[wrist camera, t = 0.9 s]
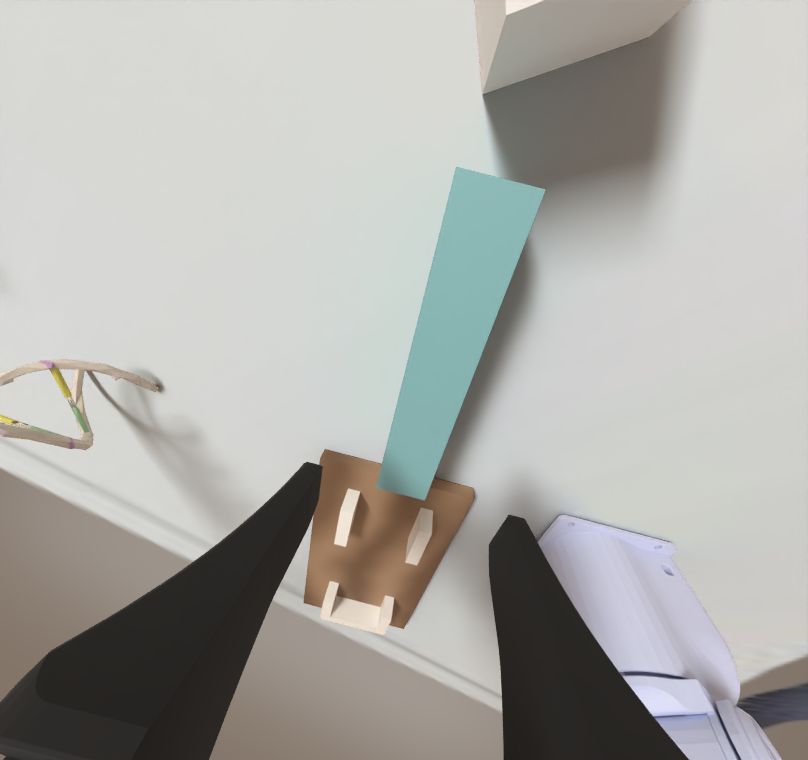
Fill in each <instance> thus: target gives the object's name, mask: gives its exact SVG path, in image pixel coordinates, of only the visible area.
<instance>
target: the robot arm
mask: <svg viewBox="0 0 808 760" xmlns="http://www.w3.org/2000/svg"><path fill="white" fill-rule="evenodd" d="M322 469H323V466H321V465H317V464H313V463H309V462H306V463H304V464H303V465H302V466H301V468H300V469H299V470H298V471H297V472H296V473H295V474H294V475H293V476H292V477H291V478H290V480H289V481H288V482H287V483H286V484H285V485H284V486H283V487H282V488H281V489H280V490H279V491H278V492H277V493H276V494H275V495H274V496H272V497H271V498H270V499H269V500H268V501H267V502H266V503H265V504H264V505H263V506H262V507H261V508H260V509H259V510H258V511H256V512H255V513H254V514H253V515H252V516H251V517H249V518H248V519H247V520H246V521H245V522H244V523H243V524H241V525H240V526H239V527H238V528H237V529H236V530H234V531H233V532H232V533H231V534H229V535H228V536H227V537H226V538H224V539H223V540H222V541H221V542H219V543H218V544H217V545H215V546H214V547H213V548H212V549H210V550H209V551H208V552H206V553H205V554H204V555H202V556H201V557H199V558H198V559H197V560H195V561H194V562H192V563H191V564H190V565H188V566H187V567H185V568H184V569H183V570H181V571H180V572H179V573H177V574H176V575H174V576H173V577H171V578H170V579H168V580H167V581H165V582H164V583H162V584H161V585H159V586H158V587H156V588H154V589H153V590H151V591H150V592H148V593H147V594H145V595H143V596H142V597H140V598H139V599H137V600H136V601H134V602H133V603H131V604H129V605H128V606H127V607H125V608H123V609H122V610H120V611H118V612H117V613H115V614H113V615H112V616H110V617H108V618H107V619H105V620H103V621H102V622H100V623H98V624H96V625H94V626H93V627H91V628H89V629H88V630H86V631H84V632H82V633H81V634H79V635H77V636H75V637H74V638H72V639H70V640H69V641H67V642H65V643H63V644H62V645H60V646H58V647H56V648H55V649H53V650H52V651H50V652H49V653H48V654H47V655H46V656H45V657H44V658H43V659H42V660H41V661H40V662H39V663H38V664H37V665H36V666H35V667H34V668H33V669H32V670H31V671H29V672H28V673H27V674H26V675H25V676H24V677H23V678H22V679H21V680H20V682H18V683H17V685H15V687H14V688H13V689H12V690H11V691H10V692H9V693H8V694H7V695H6V697H5V698H4V699H3V700H2V701H1V702H0V754H2V755H5V756H6V757H5V758H4V760H209V758H210V755H211V753H212V750H213V747H214V745H215V742H216V739H217V736H218V734H219V731H220V729H221V726H222V724H223V721H224V718H225V716H226V713H227V711H228V708H229V705H230V702H231V700H232V698H233V695H234V693H235V690H236V688H237V685H238V682H239V680H240V677H241V675H242V672H243V670H244V667H245V665H246V662H247V659H248V657H249V655H250V652H251V650H252V647H253V645H254V642H255V640H256V637H257V635H258V632H259V630H260V628H261V625H262V623H263V620H264V618H265V615H266V613H267V611H268V608H269V606H270V604H271V601H272V599H273V597H274V595H275V593H276V591H277V589H278V587H279V585H280V583H281V581H282V579H283V577H284V575H285V573H286V571H287V569H288V567H289V565H290V563H291V561H292V559H293V557H294V555H295V553H296V551H297V549H298V547H299V545H300V543H301V541H302V539H303V537H304V535H305V533H306V531H307V529H308V527H309V524H310V522H311V519H312V517H313V514H314V512H315V509H316V506H317V504H318V501H319V494H320V486H321V478H322ZM676 551H677V548H676V546H675V545H674V544H673V543H671V542H667V541H663V540H659V539H655V538H652V537H648V536H644V535H640V534H636V533H633V532H629V531H625V530H621V529H617V528H614V527H610V526H606V525H602V524H598V523H594V522H591V521H587V520H583V519H579V518H575V517H572V516H568V515H560V516H558V517H557V518H556V519H555V521H554V522H553V523H552V524H551V526H550V527H549V528H548V529H547V531H546V532H545V533H544V534H543V536H542V537H541V538H540V539H539V541H538V542H537V540H536V539H535V537H534V535H533V533H532V531H531V529H530V528H529V526H528V524H527V522H526V520H525V519H524V518H520V517H516V516H512V515H508V517H507V518H506V520H505V521H504V523H503V524H502V526H501V527H500V529H499V530H498V532H497V533H496V535H495V536H494V538H493V539H492V541H491V542H490V544H489V577H490V585H491V593H492V601H493V608H494V616H495V623H496V631H497V638H498V646H499V655H500V666H501V686H502V709H503V738H504V739H503V740H504V760H782V759H781V757H780V756H779V754H778V753H777V751H776V750H775V748H774V747H773V745H772V744H771V742H770V741H769V739H768V738H767V736H766V735H765V733H764V732H763V730H762V729H761V728H760V726H759V725H758V724H757V722H756V721H755V720H754V719H753V718H752V717H751V716H750V715H749V714H747V713H746V712H744V711H743V710H741V709H740V708H737V707H736V704H737V702H738V699H739V694H740V682H739V676H738V672H737V668H736V664H735V661H734V659H733V656H732V654H731V652H730V649H729V647H728V645H727V644H726V642H725V640H724V639H723V637H722V635H721V634H720V632H719V631H718V629H717V628H716V626H715V624H714V623H713V621H712V620H711V618H710V617H709V615H708V614H707V612H706V610H705V609H704V607H703V606H702V604H701V603H700V601H699V599H698V598H697V596H696V595H695V593H694V592H693V590H692V589H691V587H690V585H689V584H688V582H687V581H686V579H685V578H684V576H683V575H682V573H681V571H680V570H679V568H678V567H677V565H676V564H675V562H674V560H673V559H672V557H671V555H673V554H674V553H675V552H676Z"/></svg>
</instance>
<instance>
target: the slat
mask: <svg viewBox="0 0 808 760" xmlns="http://www.w3.org/2000/svg"><path fill="white" fill-rule="evenodd" d="M545 190H546V189H542V188H538V187H534V186H530V185H526V184H522V183H518V182H514V181H510V180H506V179H502V178H498V177H495V176H491V175H487V174H483V173H479V172H475V171H471V170H467V169H463V168H459V167H456V170H455V174H454V178H453V182H452V186H451V190H450V194H449V198H448V202H447V206H446V210H445V214H444V218H443V222H442V226H441V230H440V234H439V238H438V242H437V246H436V250H435V254H434V258H433V262H432V266H431V270H430V274H429V278H428V282H427V286H426V290H425V294H424V298H423V302H422V306H421V310H420V314H419V318H418V322H417V326H416V330H415V334H414V338H413V342H412V346H411V350H410V354H409V358H408V362H407V366H406V370H405V374H404V378H403V382H402V386H401V390H400V394H399V398H398V402H397V406H396V410H395V414H394V418H393V422H392V426H391V430H390V434H389V438H388V442H387V446H386V450H385V454H384V458H383V462H382V466H381V470H380V474H379V478H378V482H377V486H376V488H378V489H382V490H385V491H389V492H393V493H397V494H401V495H405V496H409V497H413V498H417V499H421V500H425V499H426V496H427V493H428V491H429V488H430V486H431V483H432V481H433V478H434V475H435V473H436V470H437V468H438V465H439V463H440V460H441V457H442V455H443V452H444V450H445V447H446V445H447V442H448V440H449V437H450V434H451V432H452V429H453V427H454V424H455V422H456V419H457V416H458V414H459V411H460V409H461V406H462V404H463V401H464V398H465V396H466V393H467V391H468V388H469V386H470V383H471V380H472V378H473V375H474V373H475V370H476V368H477V365H478V362H479V360H480V357H481V355H482V352H483V350H484V347H485V344H486V342H487V339H488V337H489V334H490V332H491V329H492V327H493V324H494V321H495V319H496V316H497V314H498V311H499V309H500V306H501V303H502V301H503V298H504V296H505V293H506V291H507V288H508V285H509V283H510V280H511V278H512V275H513V273H514V270H515V267H516V265H517V262H518V260H519V257H520V255H521V252H522V249H523V247H524V244H525V242H526V239H527V237H528V234H529V231H530V229H531V226H532V224H533V221H534V219H535V216H536V214H537V211H538V208H539V206H540V203H541V201H542V198H543V196H544V193H545Z"/></svg>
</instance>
